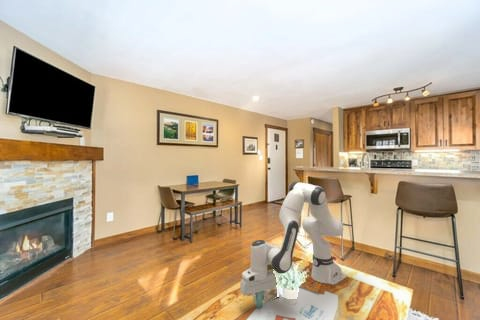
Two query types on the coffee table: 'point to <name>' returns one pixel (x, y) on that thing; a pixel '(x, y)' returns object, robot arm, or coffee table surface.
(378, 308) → the coffee table surface
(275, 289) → the block
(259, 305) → the dowel
